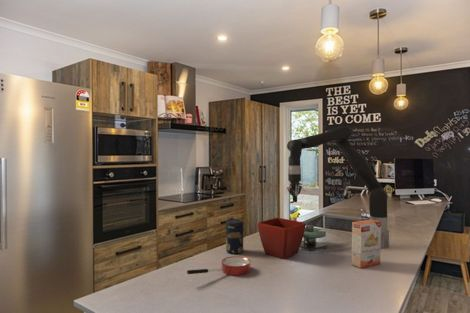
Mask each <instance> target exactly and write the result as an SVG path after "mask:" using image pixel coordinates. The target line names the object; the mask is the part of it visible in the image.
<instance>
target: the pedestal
mask: <svg viewBox="0 0 470 313" xmlns="http://www.w3.org/2000/svg"><path fill="white" fill-rule="evenodd" d="M327 247H328V244H327V243H323V242H319V241H317V238H304V237H303V239H302V242H301V245H300V248H299V249H303V250H306V251H309V252H315V251H317V250H321V249H325V248H327Z"/></svg>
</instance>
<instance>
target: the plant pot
mask: <svg viewBox="0 0 470 313" xmlns="http://www.w3.org/2000/svg"><path fill="white" fill-rule="evenodd" d="M306 223H307V222H304V221H303V222H302V221H293V220H291V219H287V218H282V217H281V218H280V217H274V218H270V219H267V220H263V221H258V222H257V230H258V234H259V238H260V242H261V245H262V248H263V250H264V251H263V252H264V253H265V254H266V255H269V256H272V257H276V258H279V259H283V260H286V259H289V258H290V257H293V256H295V255H297V254H299V251H300V249H301V248H300V245H301V242H302V241H303V240H304V237H303V235H304V231H305V227H306V225H307V224H306Z"/></svg>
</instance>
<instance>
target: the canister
mask: <svg viewBox="0 0 470 313" xmlns="http://www.w3.org/2000/svg"><path fill="white" fill-rule="evenodd" d="M225 251H226V252H227V253H230V254H240V253H243V251H244V222H243V221H242V220H241V219H235V218H234V219H229V220H228V219H227V220H226V222H225Z"/></svg>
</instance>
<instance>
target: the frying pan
mask: <svg viewBox="0 0 470 313" xmlns="http://www.w3.org/2000/svg"><path fill="white" fill-rule="evenodd" d="M212 272H222V273H223V274H225V275H227V276H235V277H236V276H237V277H238V276H244V275H247V274H248V273H250V272H251V259H249V258H247V257H245V256H227V257H225V258H223V259H222V260H221V267H220V268H202V269H189V270H188V269H187V271H186V274H187V275H194V274H207V273H212Z"/></svg>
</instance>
